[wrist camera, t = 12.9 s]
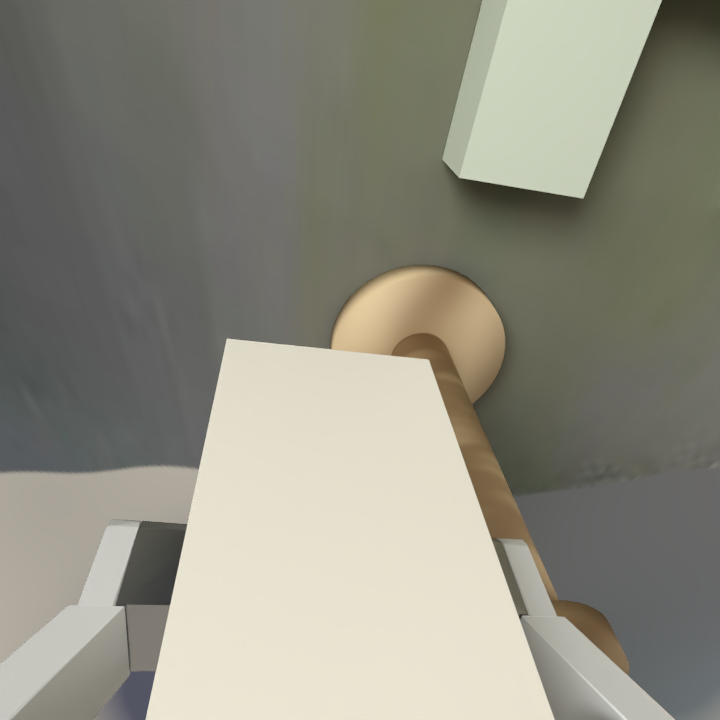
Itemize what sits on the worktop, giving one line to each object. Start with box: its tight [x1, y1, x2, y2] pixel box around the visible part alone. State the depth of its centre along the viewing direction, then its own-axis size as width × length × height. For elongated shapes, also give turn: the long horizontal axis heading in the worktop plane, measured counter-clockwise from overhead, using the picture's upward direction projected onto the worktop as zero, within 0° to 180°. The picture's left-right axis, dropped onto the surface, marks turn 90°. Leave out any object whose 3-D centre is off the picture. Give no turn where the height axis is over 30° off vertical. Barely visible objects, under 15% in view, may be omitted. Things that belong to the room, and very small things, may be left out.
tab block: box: [146, 339, 555, 720], centre depth 10 cm, size 4×4×9 cm
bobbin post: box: [330, 265, 629, 675], centre depth 23 cm, size 9×9×18 cm
